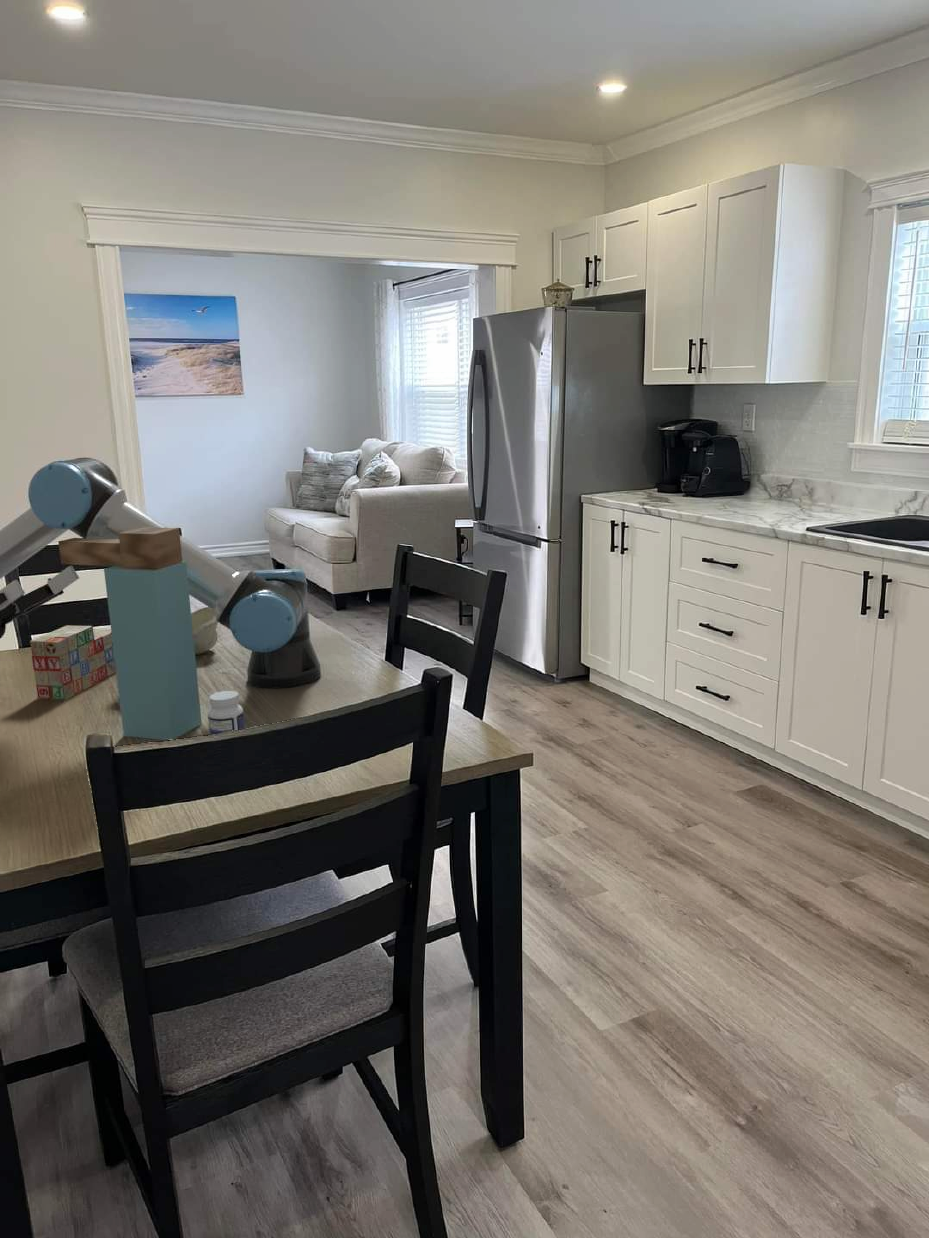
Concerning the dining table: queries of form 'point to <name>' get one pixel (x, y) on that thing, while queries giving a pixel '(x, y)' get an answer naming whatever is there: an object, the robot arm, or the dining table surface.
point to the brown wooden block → (126, 549)
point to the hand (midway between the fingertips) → (48, 579)
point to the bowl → (204, 629)
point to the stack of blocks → (71, 660)
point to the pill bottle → (225, 712)
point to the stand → (153, 650)
